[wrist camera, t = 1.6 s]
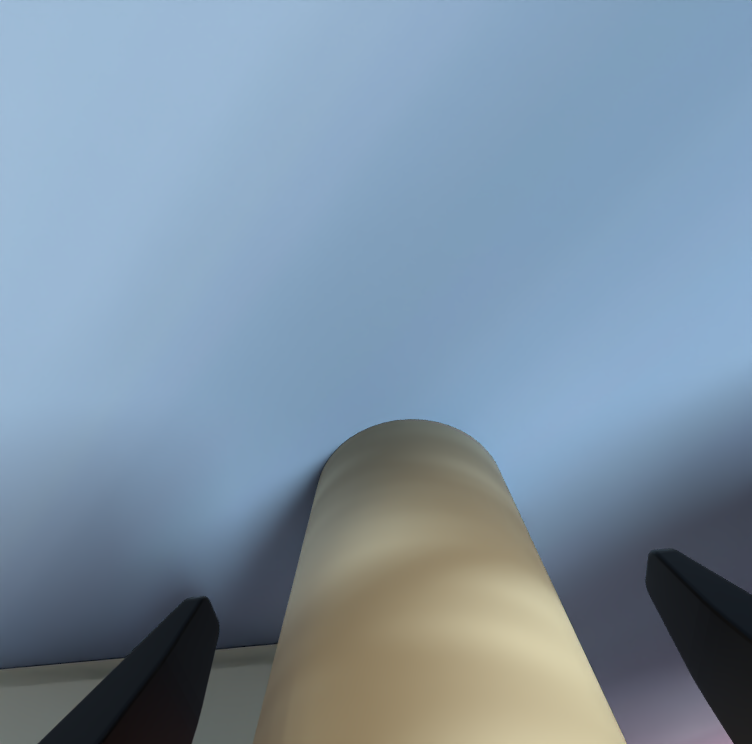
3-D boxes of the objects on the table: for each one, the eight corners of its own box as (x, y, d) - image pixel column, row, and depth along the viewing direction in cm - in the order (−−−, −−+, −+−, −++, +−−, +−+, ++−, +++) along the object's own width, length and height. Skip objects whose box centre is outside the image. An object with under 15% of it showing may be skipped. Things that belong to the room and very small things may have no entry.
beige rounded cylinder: (499, 406, 9) (953, 1124, 2) (507, 563, 11) (759, 1252, 4) (297, 433, 10) (16, 1125, 2) (336, 580, 12) (248, 1241, 4)
